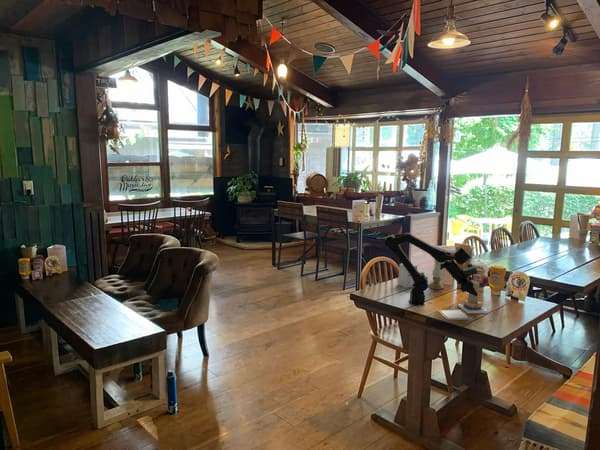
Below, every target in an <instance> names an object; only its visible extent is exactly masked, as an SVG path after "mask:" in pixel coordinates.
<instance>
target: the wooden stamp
mask: <svg viewBox="0 0 600 450" xmlns="http://www.w3.org/2000/svg"><path fill="white" fill-rule="evenodd" d="M472 282H473V284H474V285H473V287H474V289H475V291H476V292H477V294H478V296H477V297H476V296H474V295H472V294H470V293H468V298H467V299H465V300H463V302H462V304H464V306H466V307H468V308H471V309H477V308H481V307H482V306H483V303H482V302H481V301H479V292H480V291H479V290H480V284H479V283H478V282H477V281H474V280H473V281H472Z"/></svg>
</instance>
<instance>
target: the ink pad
mask: <svg viewBox="0 0 600 450" xmlns="http://www.w3.org/2000/svg"><path fill="white" fill-rule="evenodd" d="M457 307H459V308H460V310H462V311H463V312H465V313H466V314H488V310H487V309H486V308H484V307H481V308H477V309H471V308H468V307H466V306H464V304H463V303H458V304H457Z"/></svg>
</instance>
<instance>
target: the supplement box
mask: <svg viewBox="0 0 600 450" xmlns="http://www.w3.org/2000/svg"><path fill="white" fill-rule="evenodd" d="M412 264H413V265H414V267H415V268H416V269H417V270H418V265H417V264H414V263H412ZM397 281H398V282H397V283H398V284H397V285H398V286H401V287H402V288H406V289H408V288H412V285H413V284H414V281H413V279H412V276H411V275H410V274H409V272H408V271H407V269H406V268H405V267H404V265H403V264H402V263H399V268H398V278H397Z"/></svg>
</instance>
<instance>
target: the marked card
mask: <svg viewBox="0 0 600 450" xmlns="http://www.w3.org/2000/svg"><path fill="white" fill-rule="evenodd" d="M437 312H439V313H440V314H441V315H442V316H443V317H444V318H445V319H447V320H473V318H472V317H471V316H470V315H468V313H466V312H465V311H464V310H462V309H437Z"/></svg>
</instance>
